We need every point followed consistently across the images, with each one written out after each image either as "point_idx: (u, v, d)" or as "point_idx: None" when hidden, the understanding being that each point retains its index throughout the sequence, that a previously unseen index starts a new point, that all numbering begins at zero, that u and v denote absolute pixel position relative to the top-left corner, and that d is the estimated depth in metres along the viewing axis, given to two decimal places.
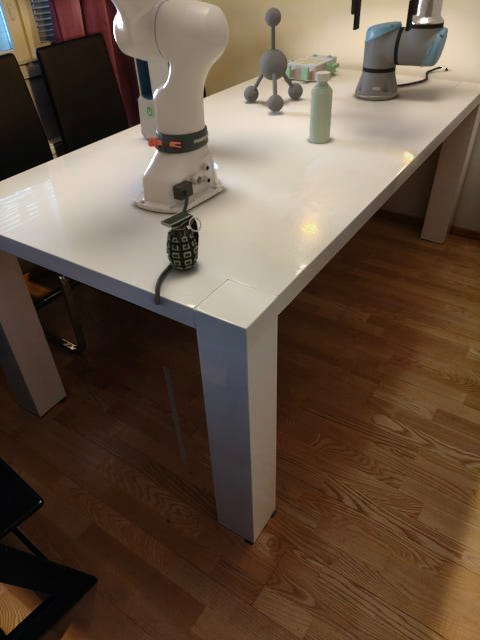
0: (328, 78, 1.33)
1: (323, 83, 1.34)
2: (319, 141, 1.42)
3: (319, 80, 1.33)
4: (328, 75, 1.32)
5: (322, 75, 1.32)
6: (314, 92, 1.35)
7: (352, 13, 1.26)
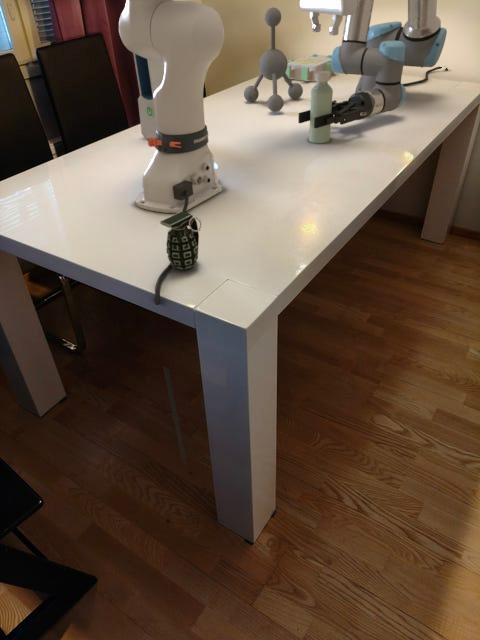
0: (328, 78, 1.33)
1: (323, 83, 1.34)
2: (319, 141, 1.42)
3: (319, 80, 1.33)
4: (328, 75, 1.32)
5: (322, 75, 1.32)
6: (314, 92, 1.35)
7: None
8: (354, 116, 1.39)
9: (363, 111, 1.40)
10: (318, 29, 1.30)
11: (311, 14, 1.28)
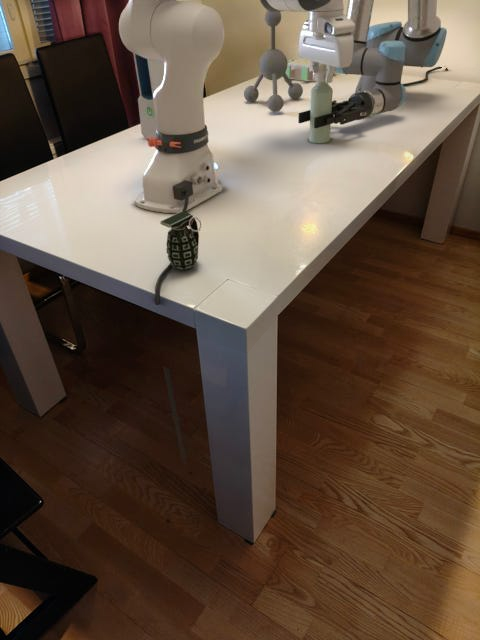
0: None
1: (323, 83, 1.34)
2: (319, 141, 1.42)
3: (319, 80, 1.33)
4: None
5: (322, 75, 1.32)
6: (314, 92, 1.35)
7: None
8: (354, 116, 1.39)
9: (363, 111, 1.40)
10: None
11: (312, 63, 1.34)
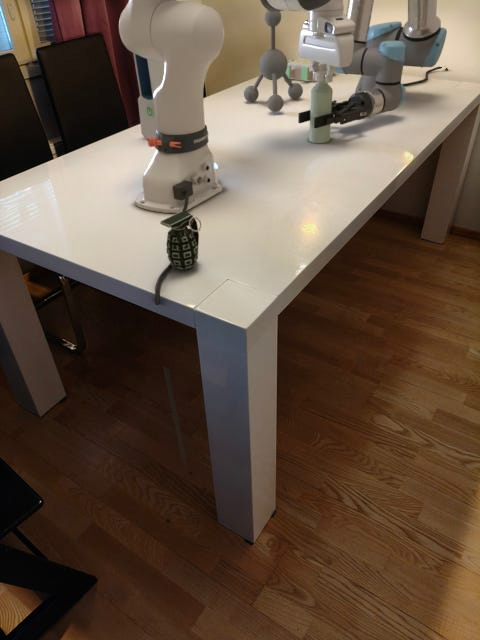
0: None
1: (323, 83, 1.34)
2: (319, 141, 1.42)
3: None
4: None
5: None
6: (314, 92, 1.35)
7: None
8: (354, 116, 1.39)
9: (363, 111, 1.40)
10: None
11: (312, 62, 1.34)
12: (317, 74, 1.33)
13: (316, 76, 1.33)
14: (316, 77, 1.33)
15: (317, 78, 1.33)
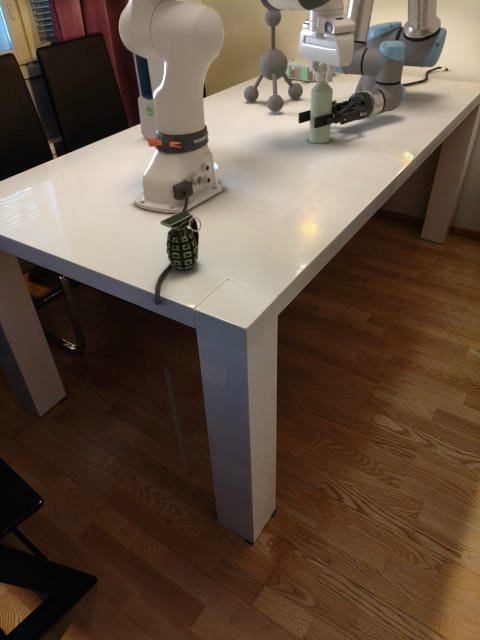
0: None
1: (323, 83, 1.34)
2: (319, 141, 1.42)
3: None
4: None
5: None
6: (314, 92, 1.35)
7: None
8: (354, 116, 1.39)
9: (363, 111, 1.40)
10: None
11: (312, 62, 1.34)
12: None
13: None
14: None
15: None
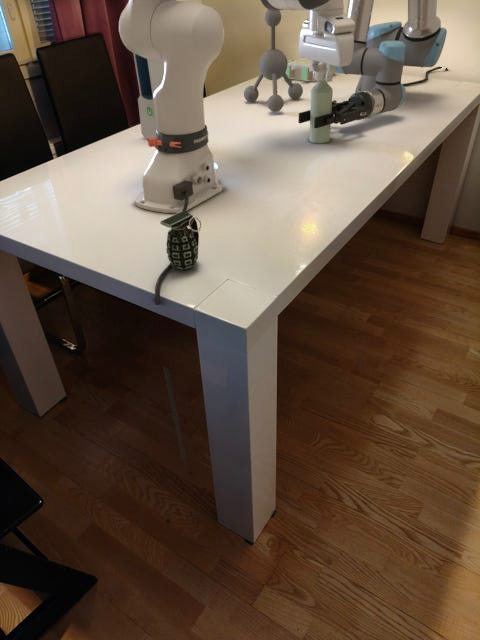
0: (316, 77, 1.33)
1: (323, 83, 1.34)
2: (319, 141, 1.42)
3: None
4: (316, 74, 1.33)
5: None
6: (314, 92, 1.35)
7: None
8: (354, 116, 1.39)
9: (363, 111, 1.40)
10: None
11: (312, 62, 1.34)
12: None
13: None
14: None
15: None
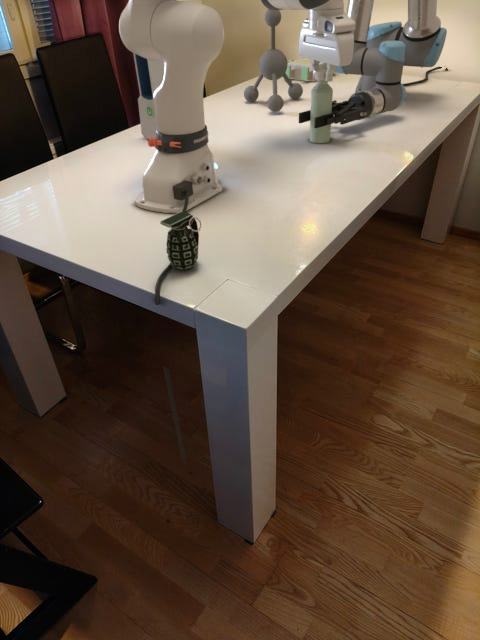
0: None
1: (323, 83, 1.34)
2: (319, 141, 1.42)
3: (316, 78, 1.33)
4: None
5: (319, 73, 1.32)
6: (314, 92, 1.35)
7: None
8: (354, 116, 1.39)
9: (363, 111, 1.40)
10: None
11: (312, 61, 1.34)
12: None
13: None
14: None
15: None
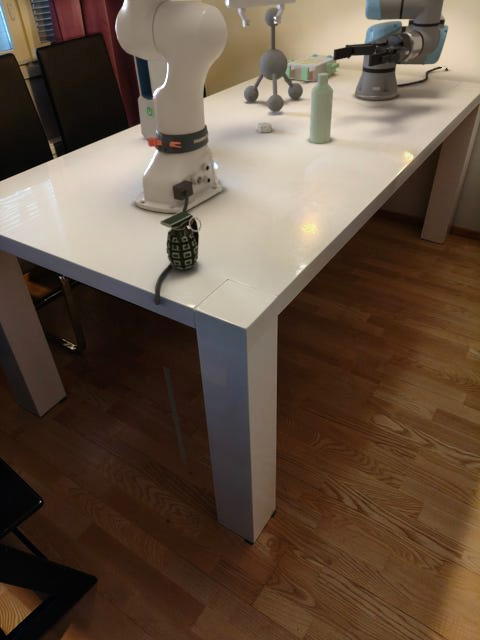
0: None
1: (323, 83, 1.34)
2: (319, 141, 1.42)
3: None
4: None
5: None
6: (314, 92, 1.35)
7: None
8: (403, 55, 1.37)
9: (408, 49, 1.38)
10: None
11: (243, 10, 1.32)
12: (265, 127, 1.52)
13: (264, 129, 1.52)
14: (264, 129, 1.52)
15: (265, 130, 1.52)
